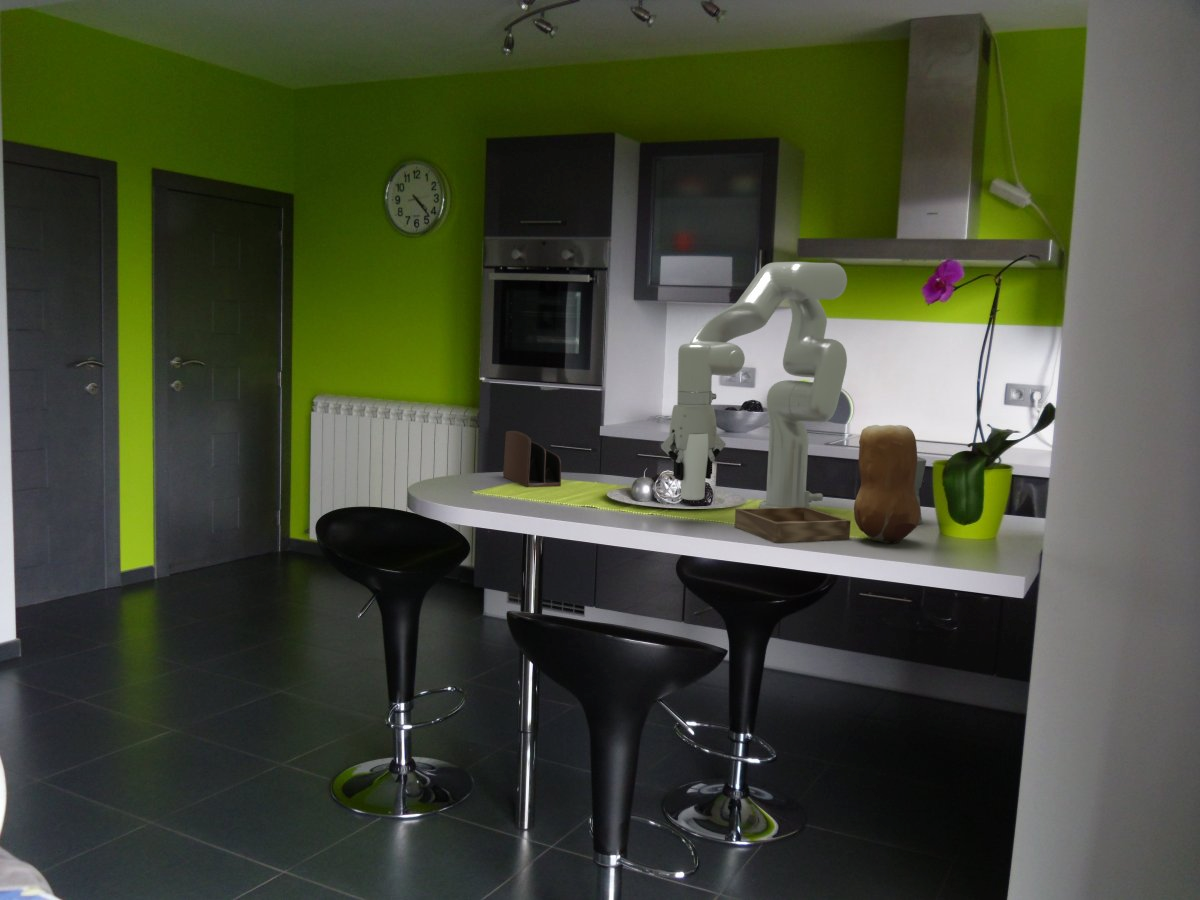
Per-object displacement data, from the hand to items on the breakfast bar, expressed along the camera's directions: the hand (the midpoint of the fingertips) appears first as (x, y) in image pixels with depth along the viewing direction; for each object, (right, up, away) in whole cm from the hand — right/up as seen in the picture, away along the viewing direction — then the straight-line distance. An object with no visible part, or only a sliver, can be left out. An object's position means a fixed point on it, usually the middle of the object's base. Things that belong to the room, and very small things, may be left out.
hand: (692, 478), depth 244 cm
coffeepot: (+49, -11, +9) cm, 51 cm away
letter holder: (-40, -3, +56) cm, 69 cm away
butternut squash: (+39, -13, -15) cm, 44 cm away
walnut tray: (+21, -12, -8) cm, 25 cm away
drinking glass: (0, -5, +1) cm, 5 cm away
